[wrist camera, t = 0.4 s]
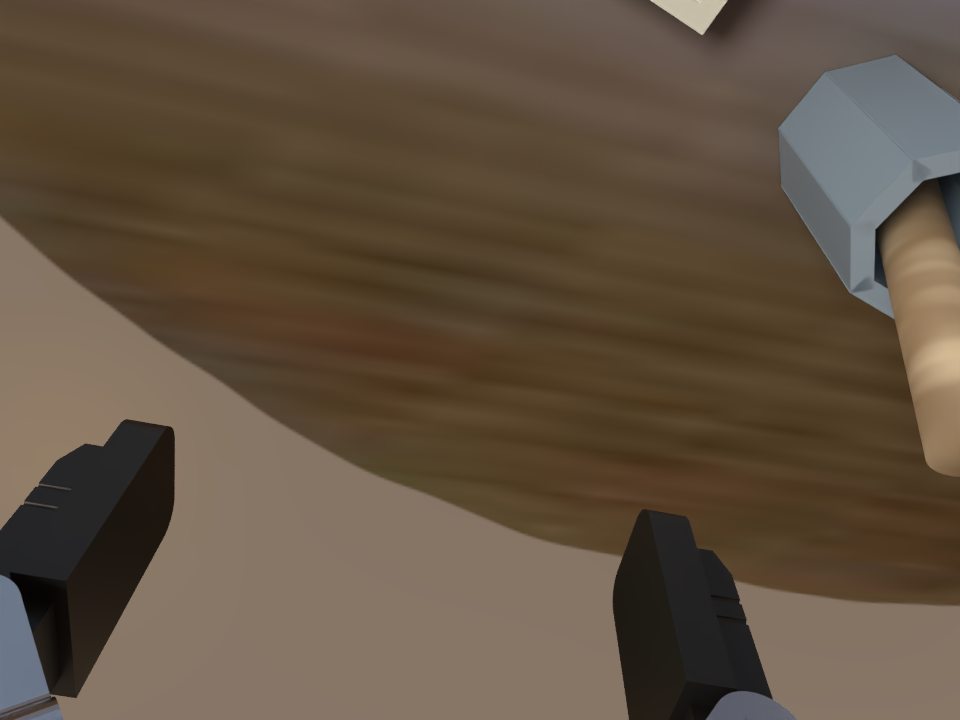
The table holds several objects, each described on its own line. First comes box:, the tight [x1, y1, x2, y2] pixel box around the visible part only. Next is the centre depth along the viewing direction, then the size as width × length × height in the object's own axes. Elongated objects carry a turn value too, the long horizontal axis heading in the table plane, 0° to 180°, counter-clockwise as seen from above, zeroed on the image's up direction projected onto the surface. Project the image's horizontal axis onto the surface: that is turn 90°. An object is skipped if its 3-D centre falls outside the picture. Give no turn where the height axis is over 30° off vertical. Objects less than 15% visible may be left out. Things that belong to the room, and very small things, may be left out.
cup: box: [778, 55, 960, 319], centre depth 31 cm, size 7×7×9 cm
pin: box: [875, 178, 960, 477], centre depth 28 cm, size 6×2×16 cm, turn 150°
